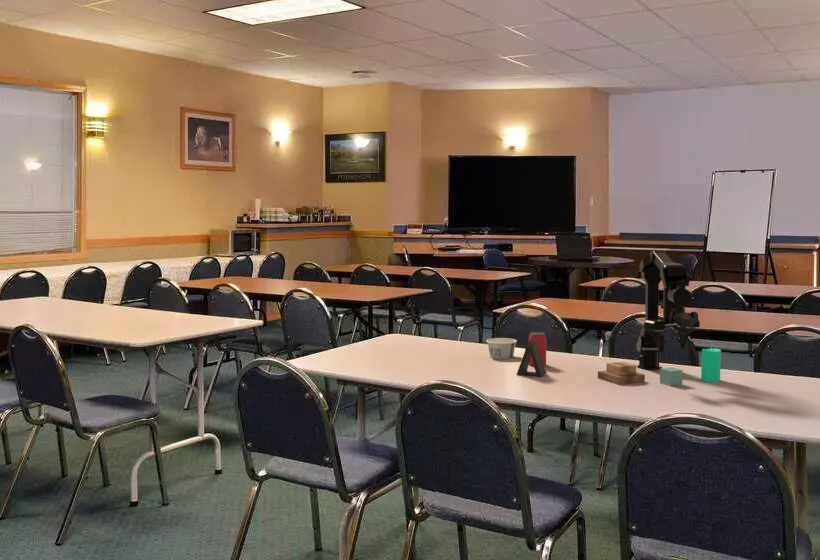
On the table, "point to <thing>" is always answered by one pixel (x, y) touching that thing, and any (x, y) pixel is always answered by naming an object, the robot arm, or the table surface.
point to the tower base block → (621, 378)
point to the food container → (501, 348)
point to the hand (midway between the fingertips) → (671, 349)
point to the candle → (711, 365)
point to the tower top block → (621, 368)
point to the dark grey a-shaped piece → (536, 359)
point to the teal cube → (671, 376)
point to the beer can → (539, 345)
